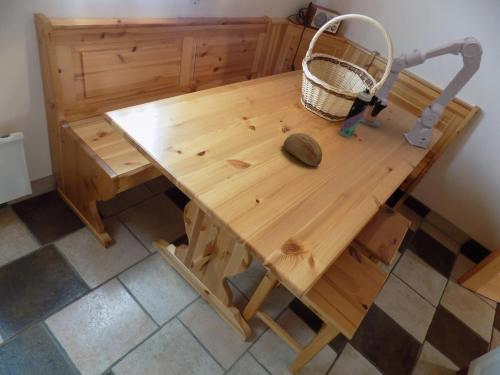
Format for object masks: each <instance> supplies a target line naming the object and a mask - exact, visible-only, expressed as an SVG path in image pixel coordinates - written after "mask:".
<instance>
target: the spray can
mask: <svg viewBox="0 0 500 375" xmlns="http://www.w3.org/2000/svg"><path fill="white" fill-rule="evenodd" d="M370 92H371V90H370V89H369V88H367V87H366V88H365V89H364V90H363V91H358V93H357V95H356V96H355V98H354V100H353V103H352V104H351V106H350V109H349V111H348V112H347V115H346V116H345V119H344V120H343V123H342V124H341V127H340V129H339V135H341V136H342V137H344V138H348V139H349V138H352V136H353V135H354V132H355V131H356V128H357V127H358V125H359V124H360V123H359V122H360V120H361V118H362V116H363V114H364V112H365V110H366V108H367V106H368V105H369V103H370V101H371V98H372V97H371V96H370Z"/></svg>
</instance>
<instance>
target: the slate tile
mask: <svg viewBox="0 0 500 375" xmlns="http://www.w3.org/2000/svg"><path fill="white" fill-rule="evenodd" d="M358 124H362V125H364V126H369V127H374V128H378V129H379V128H381V123H380V122H379V121H378V119H377V118H376V120H375V121H374V122H372V121H368V120H364V118H363V116H362V118H361V120H360V122H359V123H358Z"/></svg>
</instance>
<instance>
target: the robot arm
mask: <svg viewBox="0 0 500 375" xmlns="http://www.w3.org/2000/svg"><path fill="white" fill-rule="evenodd" d="M459 53H460V56H461V57H462V63H463V66H462V67H461V69H460V70H459V71H458V72H457V73H456V75H455V76H454V77H453V78H452V80H451V81H450V82H449V83H448V84H447V86H446V87H445V88H444V89H443V91H441V93H440V94H439V95H438V96H437V97H436V99H435V100H433V101H432V102H431V103H430V104H429V105H428V106H425V107H424V108H423V109H422V110H421V116H419V117H418V118H417V119H416V121H415V122H414V124H413V126H412V127H411V128H410V130H409V132H408V133H405V132H404V133H402V134H403V136H404V137H405V139H406V140H407V142H408V143H409V145H411V146H414V147H415V146H416V147H420V148H424V149H427V144H428V143H429V142H430V140H431V139H432V138H433V135H434V132H433V127H434V126H436V125H437V124H438V123H439V120H440V117H441V116H442V115H443V113H444V110H445V109H446V107H447V106H449V104H450V103H451V102H452V100H454V98H455V97H456V96H457V95H458V93H460V92H461V90H462V89H463V88H464V87H465V86H466V84H468V83H469V81H470V80H471V79H472V78H473V77H474V75H475V74H476V73H477V72H478V71H479V69H480V65H481V62H482V55H483V53H484V52H483V46H482V44H481V43H480V42H479V41H478V40H477V39H476V37H473V36H468V37H465V38H464V39H463V38H461V39H456V40H453V41H450V42H447V43H444V44H441V45H438V46H436V47H433V48H430V49H427V50H424V49H421V48H420V49H418V48H414V49H413V51H411V52H407V53H401V54H400V55H395V56H393V57H392V58H393V62H392V67H391V70H390V73H389V75H388V77H387V79H386V81H385V82H384V84H383V85H382V87H381V88H380V89H379V90H378V92H377V93H376V94H375V95H374V96H373V97H372V98H371V101H370V103H369V106H373V107H374V108H373V111H372V113H371V116H372V117H376V116H377V115H378V116H379V114H380V113H381V112H382V111H383V110H384V109H387V108H388V95H389V93H390V91H392V88H393V85H394V84H395V82H396V81H397V79H398V76H399V74H400V73H401V72H402V71H403V70H404V69H409V68H412V67H417V66H420V65H423V64H424V63H425V62H426V61H427V60H428V59H433V58H436V57H441V56H444V55H449V54H451V55H454V56H459ZM384 73H385V71H384ZM384 73H383V74H382V76H381V78H382V77H383V75H384ZM378 116H377V117H378Z"/></svg>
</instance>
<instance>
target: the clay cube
mask: <svg viewBox="0 0 500 375" xmlns="http://www.w3.org/2000/svg"><path fill="white" fill-rule="evenodd" d="M373 108H374V106H369V105H368V106H367V108H366V110H365V112H364V114H363V118H364V120H368V121H372V122H374V121H375V120H376V119H377V118H378V116H379V114H378V115H377V116H376V117H372V116H371V113H372V111H373Z"/></svg>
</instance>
